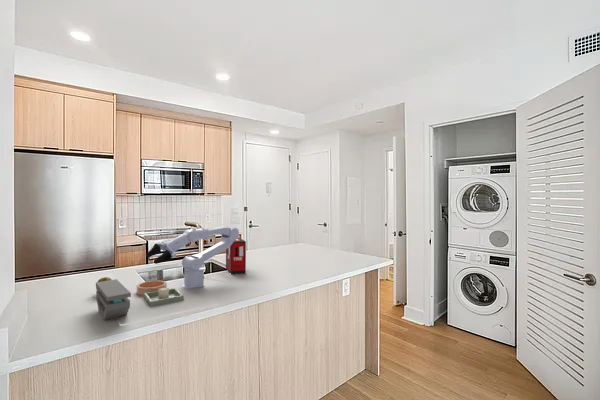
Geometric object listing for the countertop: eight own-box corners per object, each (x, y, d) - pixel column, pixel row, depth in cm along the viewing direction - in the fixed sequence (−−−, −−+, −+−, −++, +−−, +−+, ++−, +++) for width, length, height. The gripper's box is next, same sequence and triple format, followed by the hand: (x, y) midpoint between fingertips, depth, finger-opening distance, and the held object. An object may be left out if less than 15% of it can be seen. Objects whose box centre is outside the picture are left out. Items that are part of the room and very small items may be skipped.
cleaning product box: (245, 273, 193) (245, 241, 192) (231, 274, 189) (231, 242, 189) (239, 267, 208) (239, 237, 207) (225, 268, 204) (226, 238, 204)
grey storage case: (95, 307, 133) (95, 282, 133) (116, 303, 138) (116, 279, 138) (107, 326, 115) (107, 297, 114) (130, 320, 120) (130, 292, 120)
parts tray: (175, 293, 153) (175, 287, 153) (183, 301, 142) (183, 295, 142) (144, 298, 145) (144, 293, 145) (150, 307, 133) (150, 301, 133)
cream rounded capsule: (167, 296, 146) (167, 287, 146) (169, 298, 143) (169, 289, 143) (157, 298, 144) (157, 288, 144) (159, 300, 140) (159, 291, 140)
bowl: (162, 286, 163) (162, 279, 163) (169, 293, 153) (169, 285, 153) (135, 291, 155) (134, 283, 155) (139, 298, 145) (139, 289, 145)
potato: (93, 300, 141) (93, 283, 141) (97, 292, 153) (97, 276, 153) (114, 298, 145) (114, 281, 145) (116, 290, 156) (116, 274, 156)
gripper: (165, 233, 159) (140, 247, 150) (182, 243, 151) (156, 258, 142) (169, 244, 162) (144, 258, 153) (185, 254, 154) (160, 269, 145)
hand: (150, 259), depth 148 cm, fingers open, 7 cm apart
